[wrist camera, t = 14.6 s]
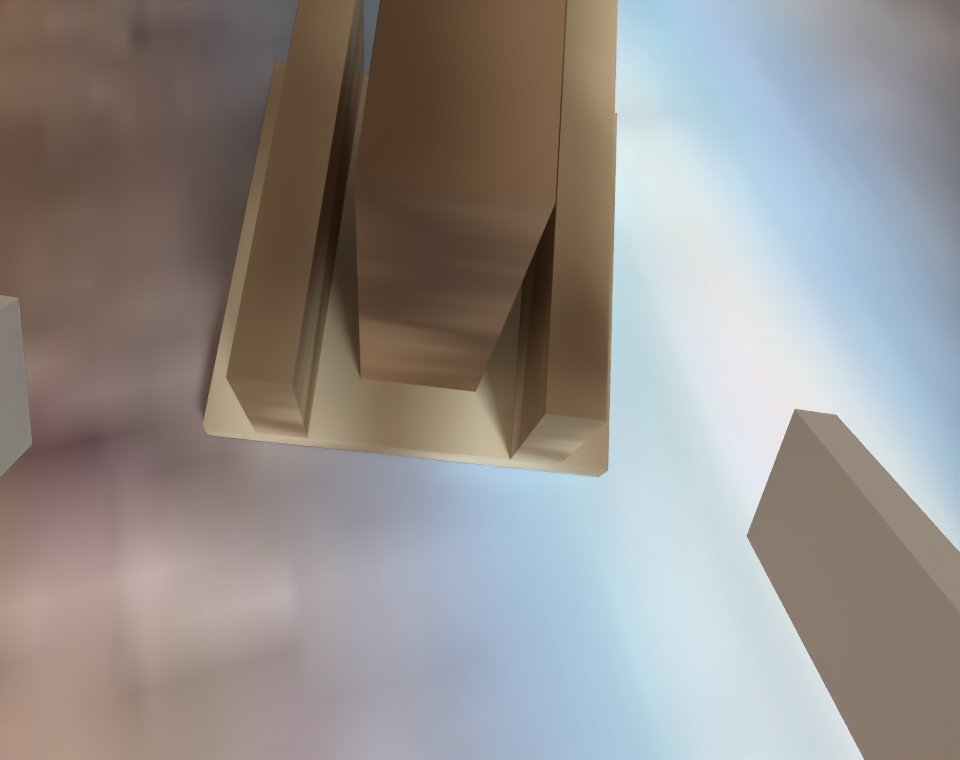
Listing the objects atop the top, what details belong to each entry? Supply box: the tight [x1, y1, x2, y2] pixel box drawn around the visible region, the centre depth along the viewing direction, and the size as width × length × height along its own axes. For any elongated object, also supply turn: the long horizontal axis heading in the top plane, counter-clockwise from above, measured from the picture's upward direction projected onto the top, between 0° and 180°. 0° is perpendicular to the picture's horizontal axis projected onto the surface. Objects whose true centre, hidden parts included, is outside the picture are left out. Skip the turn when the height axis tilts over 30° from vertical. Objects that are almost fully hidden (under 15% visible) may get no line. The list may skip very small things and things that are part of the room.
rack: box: [202, 0, 618, 477], centre depth 24 cm, size 12×13×6 cm
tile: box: [354, 0, 566, 392], centre depth 20 cm, size 4×9×11 cm, turn 176°
